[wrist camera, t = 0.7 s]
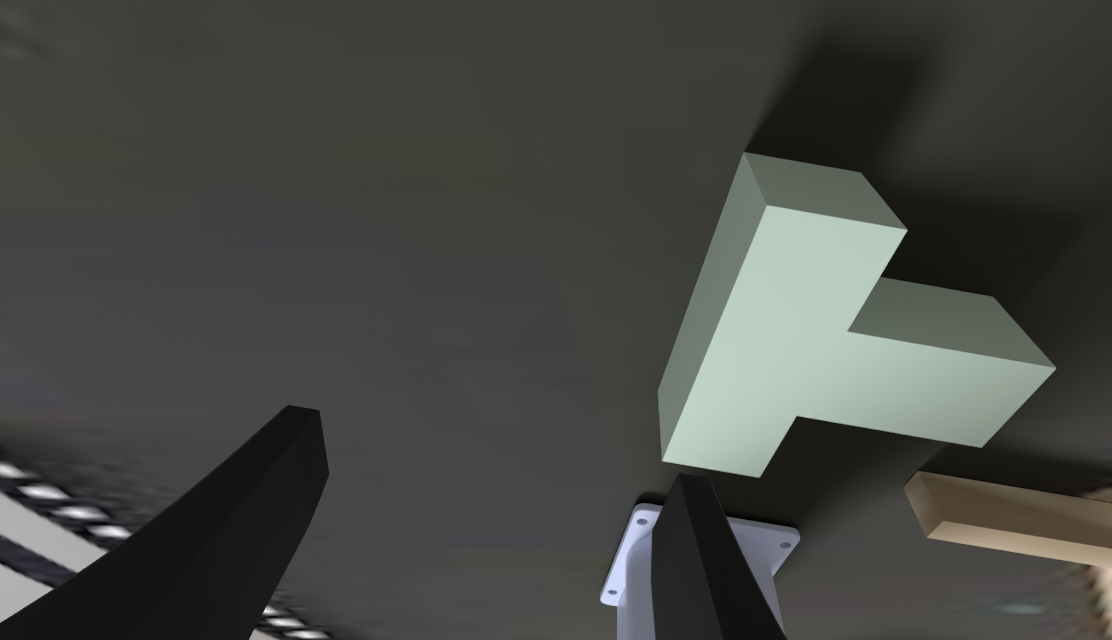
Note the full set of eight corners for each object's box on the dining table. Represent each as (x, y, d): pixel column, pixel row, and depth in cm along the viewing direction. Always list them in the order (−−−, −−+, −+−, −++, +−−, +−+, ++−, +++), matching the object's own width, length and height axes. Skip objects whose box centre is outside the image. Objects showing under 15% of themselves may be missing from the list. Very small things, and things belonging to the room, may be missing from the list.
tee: (889, 430, 23) (926, 506, 20) (657, 390, 23) (662, 461, 20) (1061, 208, 17) (1147, 272, 14) (743, 151, 17) (766, 205, 14)
